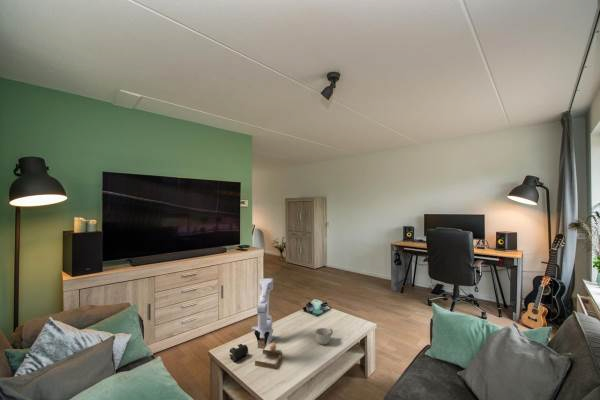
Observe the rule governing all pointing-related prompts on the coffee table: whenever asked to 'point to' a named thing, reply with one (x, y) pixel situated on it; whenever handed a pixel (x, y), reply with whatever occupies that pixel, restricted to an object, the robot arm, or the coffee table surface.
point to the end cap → (238, 352)
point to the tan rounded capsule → (273, 347)
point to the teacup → (323, 335)
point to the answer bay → (270, 365)
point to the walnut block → (261, 343)
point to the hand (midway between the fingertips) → (262, 342)
